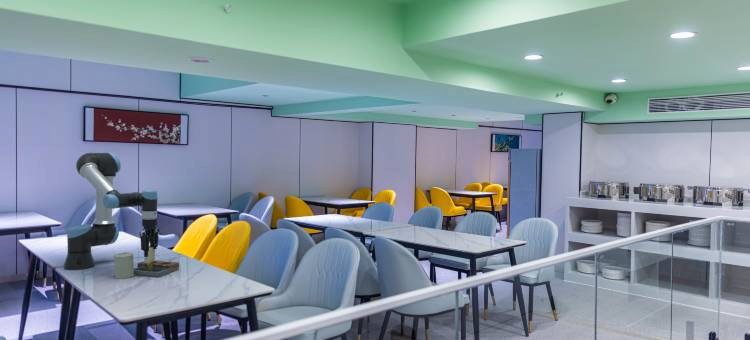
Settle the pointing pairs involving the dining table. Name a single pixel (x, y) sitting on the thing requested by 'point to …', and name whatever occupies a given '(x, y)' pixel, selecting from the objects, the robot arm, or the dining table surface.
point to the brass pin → (150, 265)
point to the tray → (155, 273)
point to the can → (124, 265)
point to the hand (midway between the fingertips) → (149, 261)
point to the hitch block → (163, 265)
